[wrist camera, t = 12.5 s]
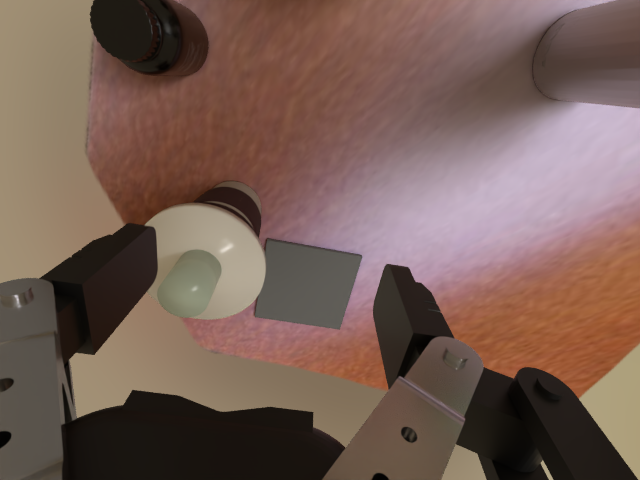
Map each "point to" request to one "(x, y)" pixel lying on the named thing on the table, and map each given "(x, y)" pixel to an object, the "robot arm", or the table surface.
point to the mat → (306, 284)
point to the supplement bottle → (151, 35)
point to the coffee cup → (236, 202)
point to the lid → (206, 262)
